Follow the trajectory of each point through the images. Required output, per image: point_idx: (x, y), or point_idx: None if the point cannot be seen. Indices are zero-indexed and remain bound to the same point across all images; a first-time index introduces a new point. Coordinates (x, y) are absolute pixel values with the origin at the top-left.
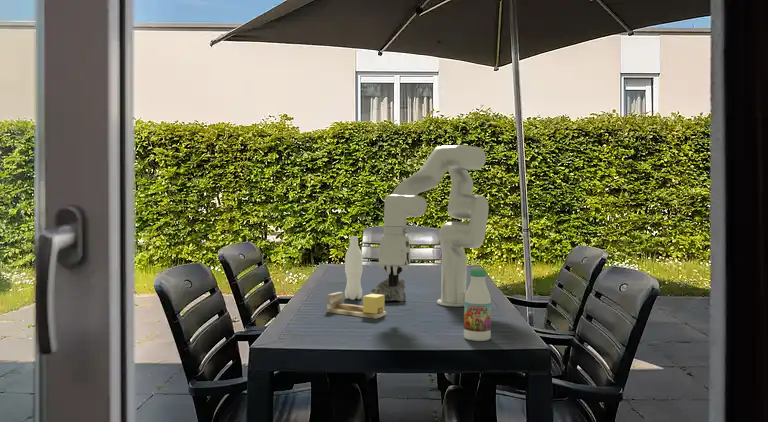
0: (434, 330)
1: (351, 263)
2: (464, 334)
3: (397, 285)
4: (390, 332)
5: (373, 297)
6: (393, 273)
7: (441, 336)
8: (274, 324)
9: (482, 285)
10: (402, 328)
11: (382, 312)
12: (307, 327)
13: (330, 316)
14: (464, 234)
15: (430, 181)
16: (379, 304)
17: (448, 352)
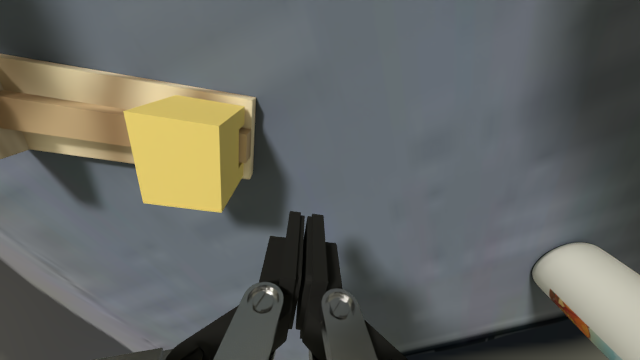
0: (460, 236)
1: None
2: (537, 282)
3: (322, 215)
4: (353, 283)
5: (207, 210)
6: (310, 349)
7: (476, 274)
8: (70, 309)
9: None
10: (372, 246)
11: (251, 135)
12: (156, 306)
13: (97, 197)
14: None
15: None
16: (233, 162)
17: (481, 342)
